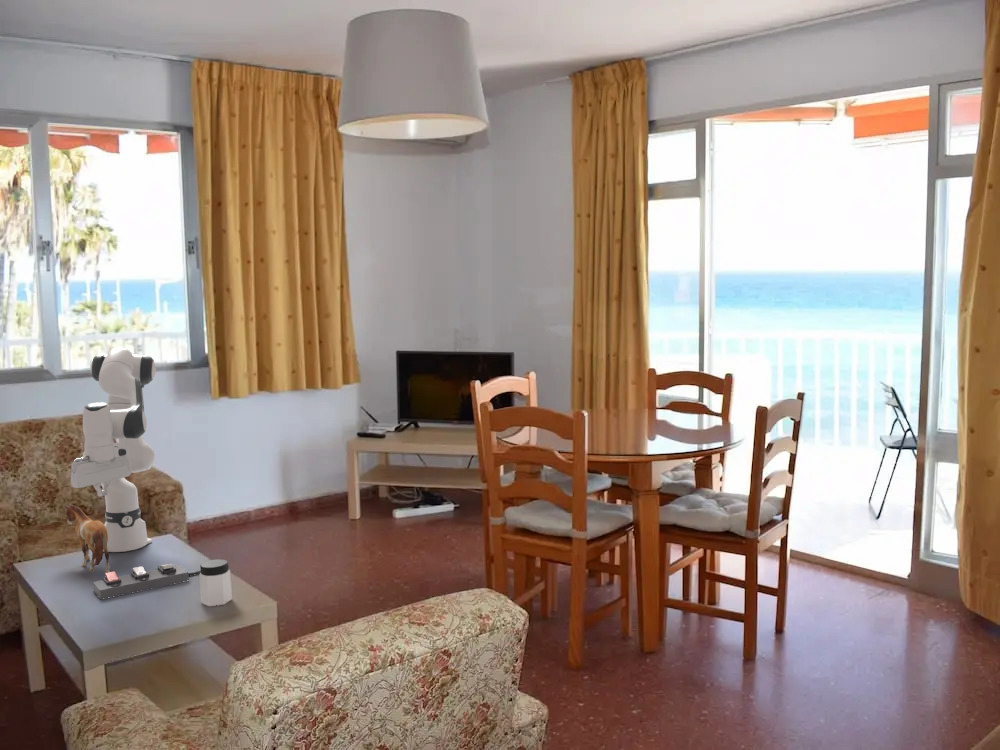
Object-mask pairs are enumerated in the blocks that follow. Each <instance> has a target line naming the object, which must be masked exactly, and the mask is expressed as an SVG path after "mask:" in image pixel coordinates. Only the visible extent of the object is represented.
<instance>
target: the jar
mask: <svg viewBox="0 0 1000 750" xmlns="http://www.w3.org/2000/svg"><path fill="white" fill-rule="evenodd" d="M199 566H200V567H199V568H200V571H201V573H200V574H198V577H199V588H200V590H199V592H200V602H201V604H202V605H205V606H207V607H215V606H216V605H217V606H222V605H223V606H225V605H226V604H227V603H229V602H230V601H232V600H233V596H232V578H231V569H229V568H230V567H229V561H228V560H226V559H221V558H220V559H218V558H217V559H211V560H210V559H209V560H205V561H203V562H202V563H200V565H199Z"/></svg>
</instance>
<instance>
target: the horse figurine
mask: <svg viewBox="0 0 1000 750" xmlns="http://www.w3.org/2000/svg"><path fill="white" fill-rule="evenodd" d="M64 508H65V509H66V511H65V514H66V516H67V521H66V523H67V524H68V525H70V526H71V525H73V524H74V521H76V525H75V531H74V532H75V534H76V537H77V538H78V541H79V543H80V544H81V551H82V553H83V562H82V564H81V567H87V561H90V563H89V572H90V573H93V572H94V571H95V569H94V568H95V566H99V565H100V563H101V562H102V560H103V557H105V561H106V562H105V563H106V564H105V567H106V568H105V570H104V573H108V572H111V571H110V563H109V559H110V553H109V552H108V551H107V550H108V548H107V542H108V534H107V529H106V527H105V523H104V522H102V521H100V520H92V518H90V517H89V516H87V515H86V513H84V511H83V509H81V508H80V507H79V506H78V505H77V506H76V505H74V504H68V506H67V505H64ZM103 549H104V552H103ZM90 552H91V553H92V555H91V558H90V555H89V553H90ZM90 559H91V560H90Z"/></svg>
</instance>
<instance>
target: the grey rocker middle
mask: <svg viewBox="0 0 1000 750" xmlns="http://www.w3.org/2000/svg"><path fill="white" fill-rule="evenodd" d="M133 571H134V573H135V575H136V576H141V575H146V572H145V571H146V569H144V567H143V566H138V567H133V568H132V572H133Z"/></svg>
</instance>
